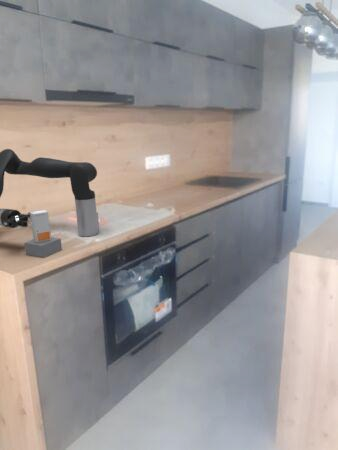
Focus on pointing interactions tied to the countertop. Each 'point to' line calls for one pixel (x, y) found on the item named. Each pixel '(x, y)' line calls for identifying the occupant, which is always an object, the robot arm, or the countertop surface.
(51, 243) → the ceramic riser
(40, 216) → the skincare box
